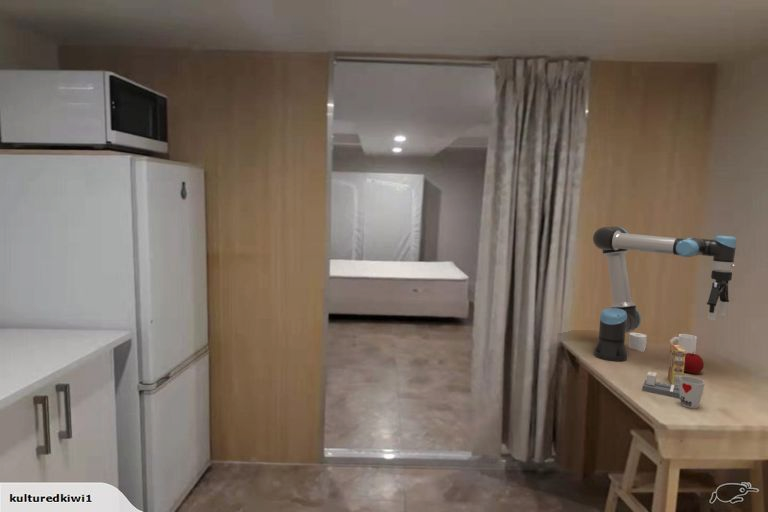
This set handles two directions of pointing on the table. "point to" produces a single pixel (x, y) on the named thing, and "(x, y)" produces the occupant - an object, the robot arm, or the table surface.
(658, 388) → the console
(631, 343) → the toilet paper
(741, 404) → the table surface
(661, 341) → the table surface
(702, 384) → the cup
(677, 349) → the candy box
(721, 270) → the robot arm
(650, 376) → the fader tab
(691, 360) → the apple
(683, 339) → the mug
